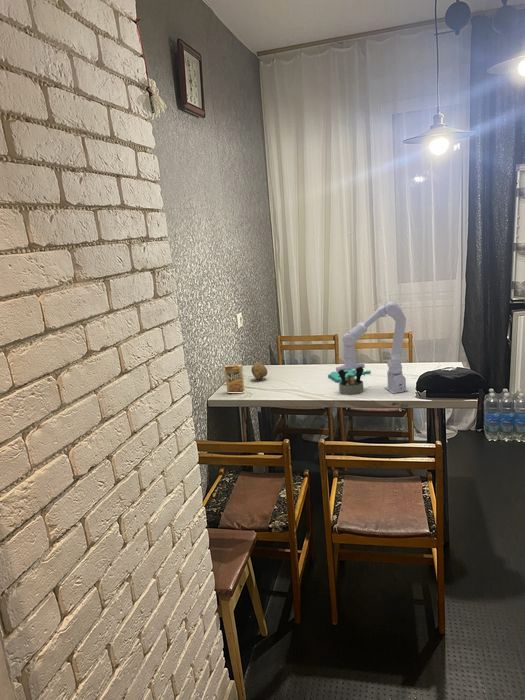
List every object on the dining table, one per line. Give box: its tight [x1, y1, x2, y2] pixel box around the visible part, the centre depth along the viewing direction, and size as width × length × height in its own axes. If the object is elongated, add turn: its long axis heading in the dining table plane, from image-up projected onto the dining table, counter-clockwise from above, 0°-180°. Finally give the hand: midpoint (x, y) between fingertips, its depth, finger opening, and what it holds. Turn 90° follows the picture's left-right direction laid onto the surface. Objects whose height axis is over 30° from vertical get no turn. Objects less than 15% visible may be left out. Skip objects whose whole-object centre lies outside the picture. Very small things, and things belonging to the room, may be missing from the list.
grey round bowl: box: [338, 379, 365, 396], centre depth 251 cm, size 12×12×4 cm
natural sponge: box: [251, 362, 268, 380], centre depth 284 cm, size 9×9×10 cm
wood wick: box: [347, 375, 354, 386], centre depth 250 cm, size 4×2×7 cm, turn 13°
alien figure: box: [327, 369, 372, 384], centre depth 274 cm, size 20×2×20 cm
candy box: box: [224, 363, 245, 393], centre depth 264 cm, size 9×4×15 cm, turn 81°
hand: (351, 383), depth 250 cm, fingers open, 7 cm apart
